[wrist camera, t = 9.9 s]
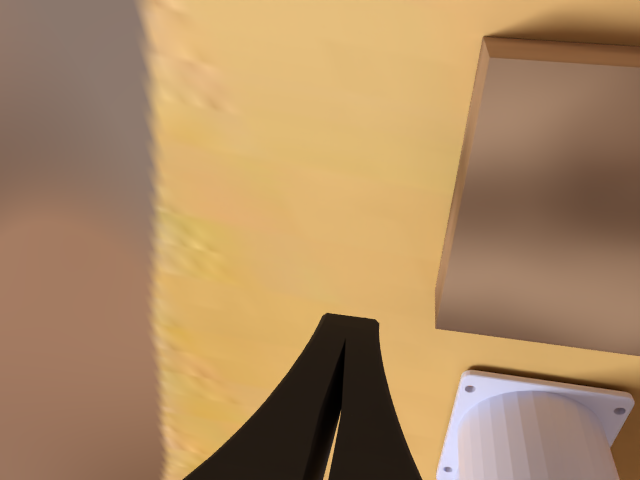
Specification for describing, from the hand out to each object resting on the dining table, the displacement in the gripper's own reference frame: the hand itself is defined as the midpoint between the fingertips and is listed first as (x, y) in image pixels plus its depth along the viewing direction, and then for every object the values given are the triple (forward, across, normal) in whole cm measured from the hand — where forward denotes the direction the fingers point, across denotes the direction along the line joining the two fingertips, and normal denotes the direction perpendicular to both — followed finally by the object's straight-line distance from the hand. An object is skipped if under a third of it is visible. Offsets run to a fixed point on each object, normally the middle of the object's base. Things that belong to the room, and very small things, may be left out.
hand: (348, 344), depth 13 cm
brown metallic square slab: (+9, -8, 0) cm, 13 cm away
